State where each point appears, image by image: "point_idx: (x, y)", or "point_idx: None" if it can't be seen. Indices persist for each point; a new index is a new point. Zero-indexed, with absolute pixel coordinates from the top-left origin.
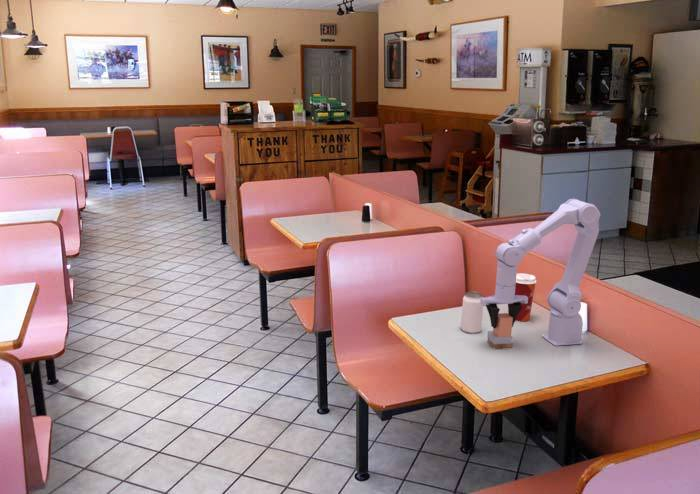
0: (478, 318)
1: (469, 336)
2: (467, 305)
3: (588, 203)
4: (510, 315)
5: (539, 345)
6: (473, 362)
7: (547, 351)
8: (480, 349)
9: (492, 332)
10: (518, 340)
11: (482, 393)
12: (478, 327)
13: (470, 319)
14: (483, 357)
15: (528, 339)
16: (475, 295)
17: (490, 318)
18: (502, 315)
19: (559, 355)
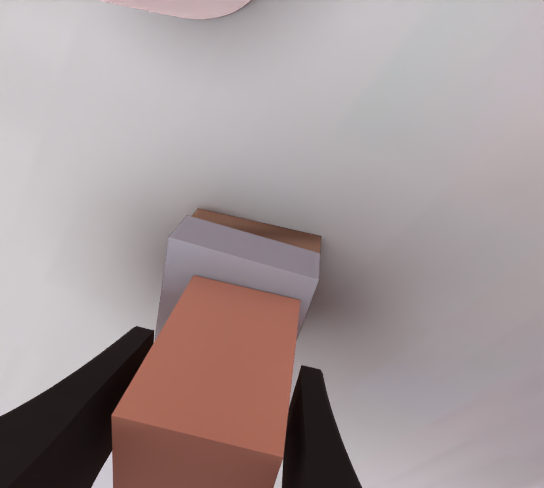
0: (152, 5)
1: (116, 59)
2: None
3: None
4: (294, 486)
5: (485, 369)
6: (15, 366)
7: (450, 429)
8: (104, 275)
9: (190, 273)
10: (427, 266)
11: None
12: (202, 15)
13: None
14: (81, 350)
15: (510, 280)
16: None
17: (81, 374)
18: (182, 475)
19: (463, 474)
